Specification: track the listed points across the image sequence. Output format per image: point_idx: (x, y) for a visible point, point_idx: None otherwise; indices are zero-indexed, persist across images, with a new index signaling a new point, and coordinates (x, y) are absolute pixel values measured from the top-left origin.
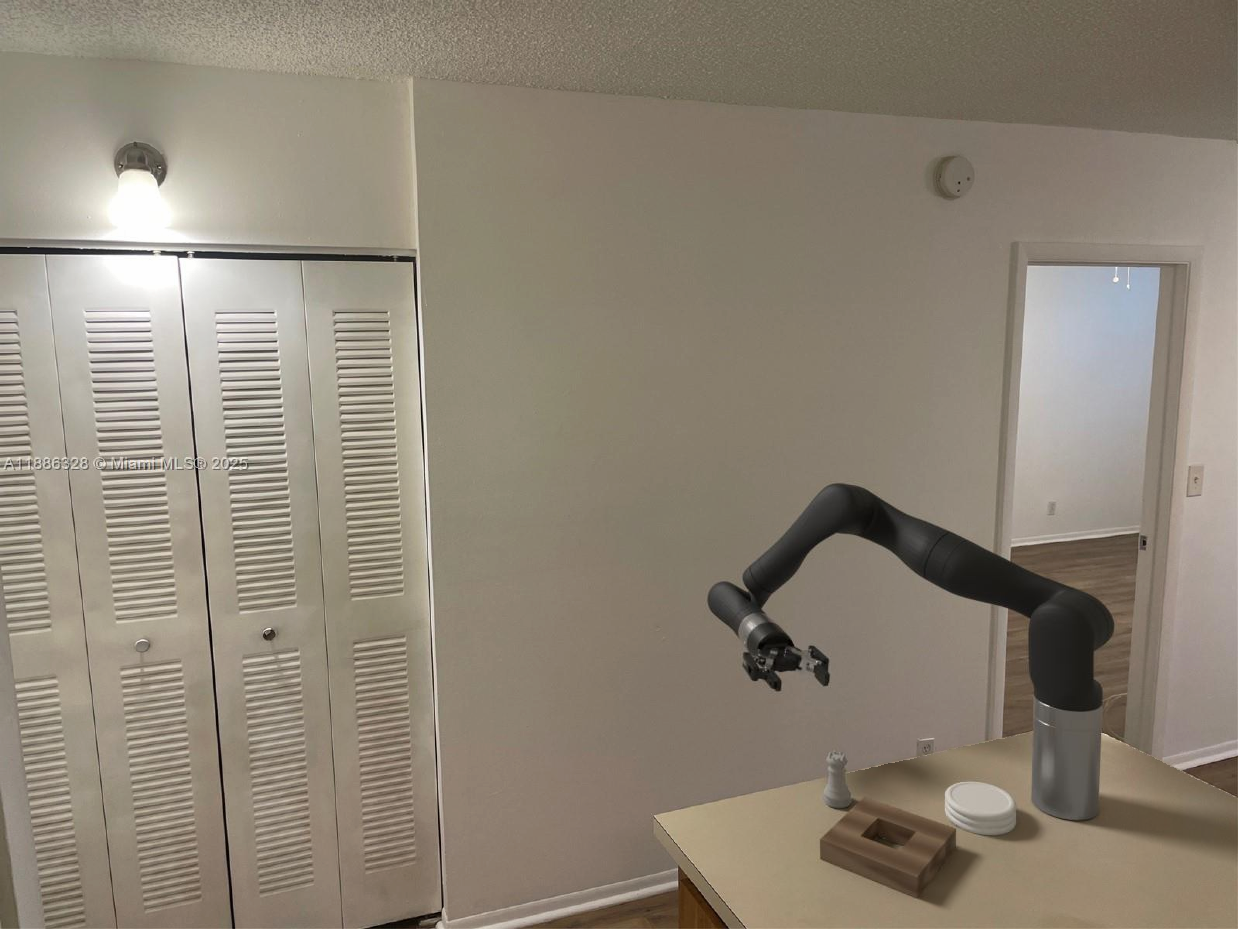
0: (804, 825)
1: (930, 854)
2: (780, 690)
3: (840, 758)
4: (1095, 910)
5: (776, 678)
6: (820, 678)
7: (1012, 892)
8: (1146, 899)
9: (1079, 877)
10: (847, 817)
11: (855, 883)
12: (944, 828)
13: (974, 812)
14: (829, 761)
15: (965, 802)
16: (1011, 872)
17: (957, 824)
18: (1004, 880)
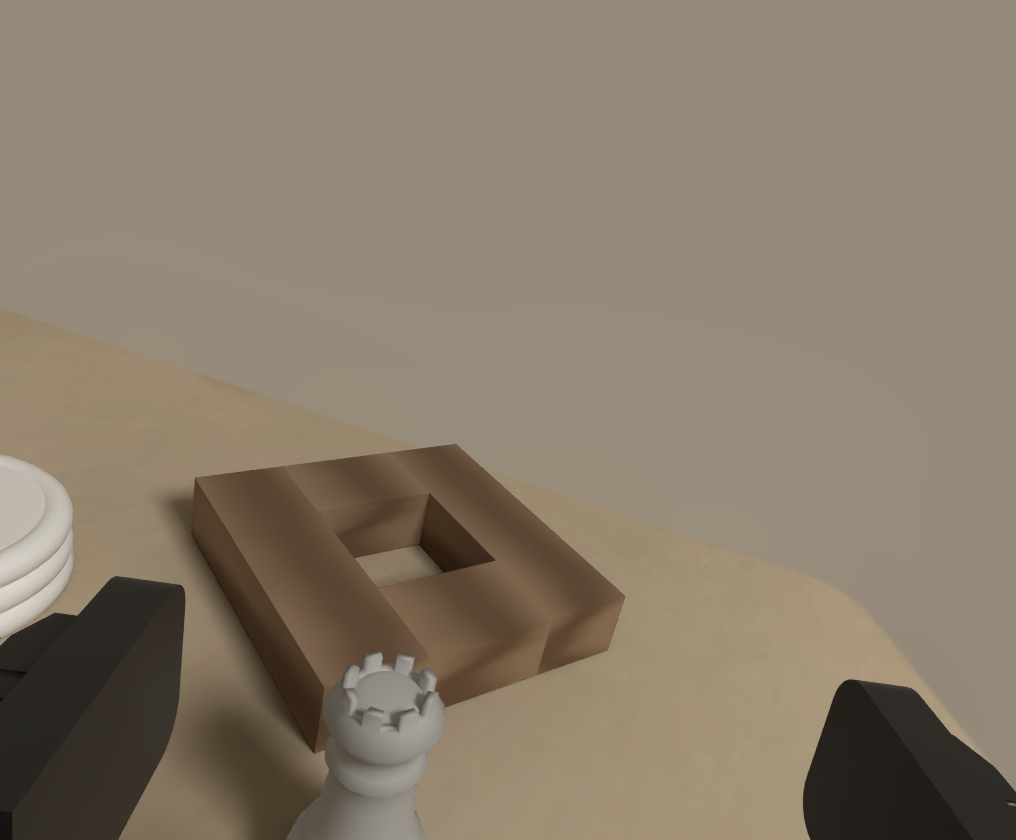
0: (590, 802)
1: (365, 460)
2: (811, 788)
3: (381, 672)
4: (145, 369)
5: (926, 707)
6: (127, 762)
7: (236, 431)
8: (22, 345)
9: (49, 398)
10: (479, 628)
11: None
12: (227, 487)
13: (57, 482)
14: (439, 706)
15: (8, 516)
16: (166, 451)
17: (72, 568)
18: (211, 448)
